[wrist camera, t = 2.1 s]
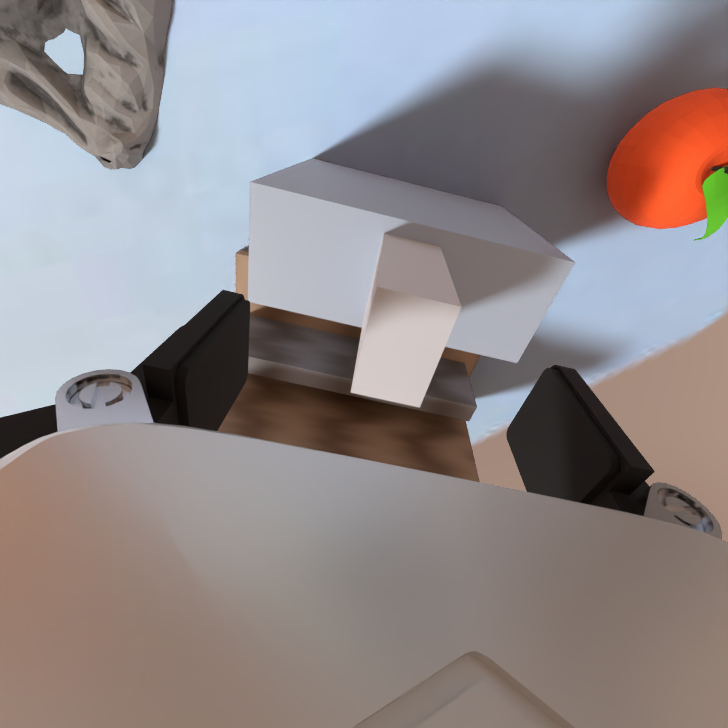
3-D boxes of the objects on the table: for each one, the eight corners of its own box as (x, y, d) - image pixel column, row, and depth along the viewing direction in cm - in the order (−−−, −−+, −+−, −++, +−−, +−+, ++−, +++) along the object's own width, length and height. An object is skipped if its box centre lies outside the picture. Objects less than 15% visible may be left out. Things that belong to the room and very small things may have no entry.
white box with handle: (502, 206, 25) (664, 330, 10) (473, 276, 28) (562, 453, 13) (312, 158, 24) (170, 212, 9) (303, 235, 27) (186, 372, 12)
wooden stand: (496, 310, 30) (560, 427, 18) (451, 404, 36) (476, 536, 24) (240, 249, 28) (133, 333, 17) (239, 357, 35) (161, 473, 23)
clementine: (709, 198, 24) (811, 221, 18) (598, 246, 26) (656, 281, 20) (705, 65, 20) (832, 40, 14) (577, 135, 22) (640, 138, 17)
